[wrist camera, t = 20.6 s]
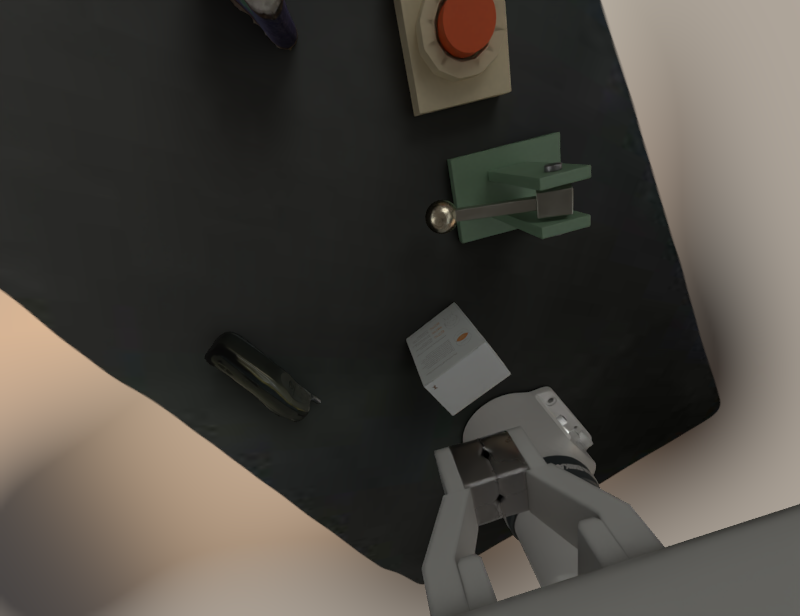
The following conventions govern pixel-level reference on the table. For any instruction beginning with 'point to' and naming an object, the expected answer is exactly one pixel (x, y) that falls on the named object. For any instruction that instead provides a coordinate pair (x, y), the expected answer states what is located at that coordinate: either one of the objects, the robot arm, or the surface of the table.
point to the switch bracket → (514, 186)
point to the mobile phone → (260, 376)
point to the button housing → (449, 60)
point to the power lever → (501, 208)
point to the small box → (455, 359)
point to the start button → (466, 26)
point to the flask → (271, 20)
